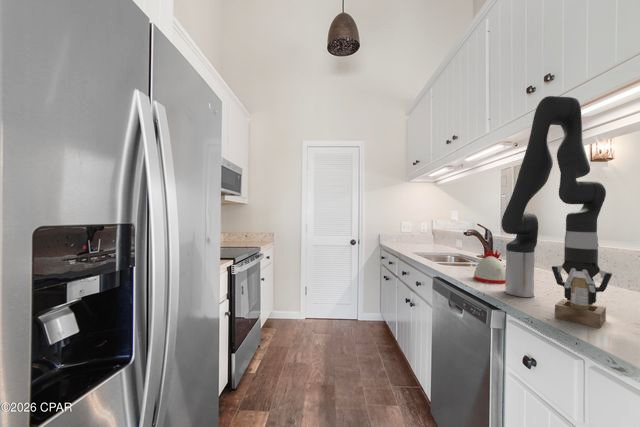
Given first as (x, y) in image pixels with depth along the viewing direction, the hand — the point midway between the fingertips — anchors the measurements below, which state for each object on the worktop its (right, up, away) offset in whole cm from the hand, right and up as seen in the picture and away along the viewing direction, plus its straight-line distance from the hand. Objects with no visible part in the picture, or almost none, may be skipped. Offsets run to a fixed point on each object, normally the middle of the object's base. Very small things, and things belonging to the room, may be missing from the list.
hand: (580, 301), depth 86 cm
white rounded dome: (+3, -6, +50) cm, 50 cm away
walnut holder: (0, -5, 0) cm, 5 cm away
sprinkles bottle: (0, -4, 0) cm, 4 cm away
